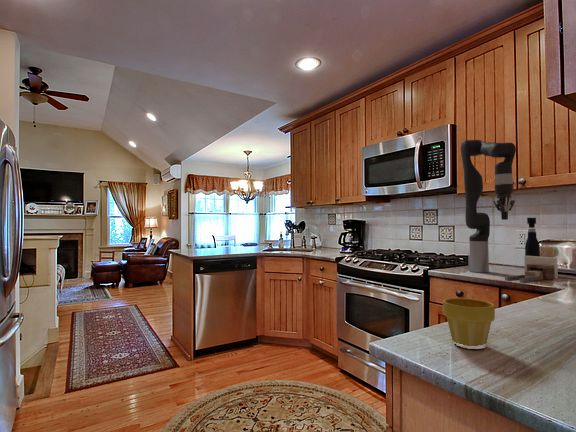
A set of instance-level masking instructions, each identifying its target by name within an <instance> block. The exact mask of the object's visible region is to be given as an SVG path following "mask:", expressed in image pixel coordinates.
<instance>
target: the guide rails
mask: <svg viewBox="0 0 576 432" xmlns="http://www.w3.org/2000/svg"><path fill="white" fill-rule="evenodd" d="M504 280H505V281H514V280H519V283H522V284H525V283H530V282H538V281H541V280H540V277H530V278H525V274H517V275H516V274H515V275H507V276H504Z"/></svg>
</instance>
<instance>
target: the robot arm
mask: <svg viewBox="0 0 576 432" xmlns="http://www.w3.org/2000/svg"><path fill="white" fill-rule="evenodd" d="M516 152H517V146H516V145H515V143H513V142H493V141H492V142H489V141H488V142H486V141H484V140H481V139H467V140H463V141H462V142H461V144H460V156H461V157H460V158H461V161H462V168H463V183H464V193H465V216H464V217H465V219H464V221H465V225H466V227H467V228H469V229H470V230H475V232H474V233H473V234H471V235H469V239H468V240H469V253H468V254H467V256H468V257H467V260H468V262H467V263H468V271H469V272H470V273H471V272H472V273H484V274H485V273H489V272H490V257H489V253H490V252H489V237H490V235H491V234H490V231H491V229H490V228H491V221H490V216H489V214H487V213H486V212H478V210H477V205H478V202H479V199H480V197H481V195H482V193H483V191H484V182H483V181H484V180H483V176H482V174H481V173H480V172H479V171H478V169H477V168H476V167H475V166H474V164H473V161H472V159H471V157H477V156H481V155H483V156H486V157H491V158H497V159H499V158H501V159H502V158H504V159H503V161H501V162H497V163H495V164H494V194H496V199H495V200H493V205H494V206H495V208H496V209H497V211H500V214H501V217H500V218H501V220H502V221H504V220H505V221H508V219H509V211H511V210H513V207H514V206H515V202H516V201H515V200H514V199H512V195H511V194H514V178H513V163H514V158H515V155H516Z"/></svg>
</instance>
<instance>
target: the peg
mask: <svg viewBox="0 0 576 432" xmlns="http://www.w3.org/2000/svg"><path fill="white" fill-rule="evenodd" d="M524 275H525V278H530V277H540V280H539V281H542V280H544V279H543V270H534V271H525V270H524Z"/></svg>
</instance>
